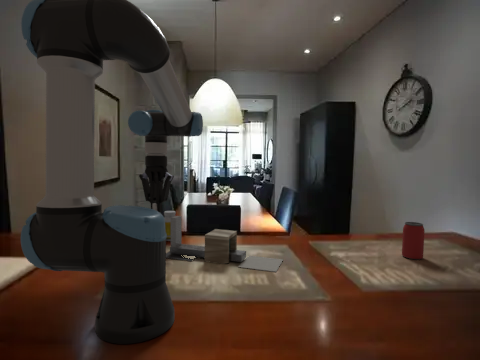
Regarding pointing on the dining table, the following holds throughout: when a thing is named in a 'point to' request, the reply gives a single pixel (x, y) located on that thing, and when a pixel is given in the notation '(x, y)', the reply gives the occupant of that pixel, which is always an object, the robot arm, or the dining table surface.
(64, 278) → the dining table surface
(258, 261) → the mat
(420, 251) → the beer can
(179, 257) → the grey shoe shape
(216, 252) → the tunnel
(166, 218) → the pill bottle
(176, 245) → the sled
